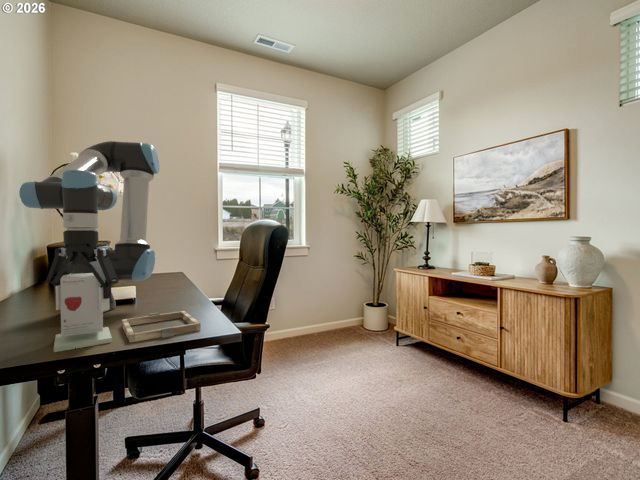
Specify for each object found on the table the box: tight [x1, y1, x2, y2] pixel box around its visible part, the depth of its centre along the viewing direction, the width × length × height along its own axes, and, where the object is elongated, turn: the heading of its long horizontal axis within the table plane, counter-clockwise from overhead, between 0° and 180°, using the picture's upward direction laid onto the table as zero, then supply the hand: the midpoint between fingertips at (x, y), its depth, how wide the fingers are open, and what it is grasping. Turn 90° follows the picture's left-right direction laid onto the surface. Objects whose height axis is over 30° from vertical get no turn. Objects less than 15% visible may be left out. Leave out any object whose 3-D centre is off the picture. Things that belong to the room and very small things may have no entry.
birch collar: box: [121, 310, 201, 343], centre depth 100 cm, size 20×18×2 cm
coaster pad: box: [53, 326, 113, 353], centre depth 89 cm, size 12×12×1 cm
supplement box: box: [60, 273, 104, 337], centre depth 88 cm, size 9×9×15 cm
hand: (82, 309), depth 88 cm, fingers closed on supplement box, 12 cm apart
